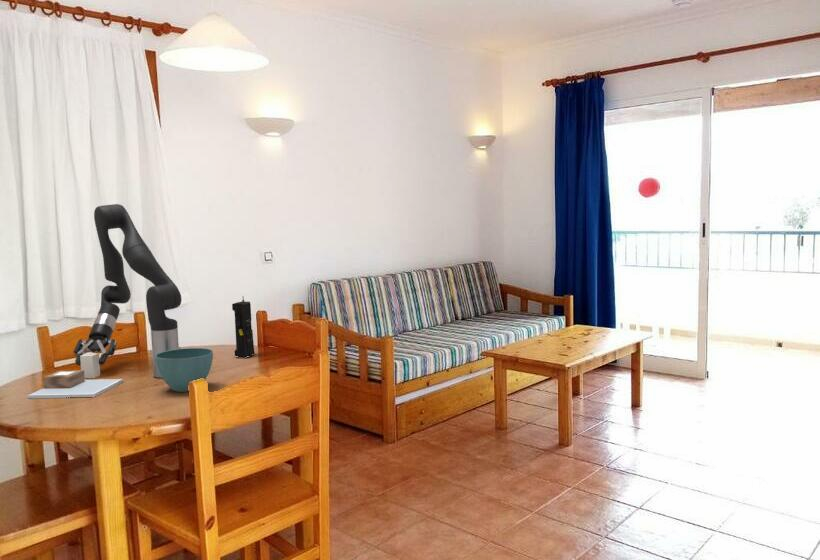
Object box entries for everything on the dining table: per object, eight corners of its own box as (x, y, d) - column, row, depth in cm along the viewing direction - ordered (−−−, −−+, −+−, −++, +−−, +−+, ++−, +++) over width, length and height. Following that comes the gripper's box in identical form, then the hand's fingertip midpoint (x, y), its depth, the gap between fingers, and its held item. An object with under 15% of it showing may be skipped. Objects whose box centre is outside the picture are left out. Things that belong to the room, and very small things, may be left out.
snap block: (100, 375, 237) (98, 351, 236) (93, 378, 233) (92, 354, 232) (88, 375, 237) (86, 351, 236) (81, 378, 233) (79, 354, 232)
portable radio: (247, 358, 260) (244, 298, 257) (233, 358, 261) (230, 298, 258) (255, 354, 267) (252, 295, 265) (242, 354, 268) (239, 295, 266)
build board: (123, 381, 226) (122, 367, 226) (93, 397, 206) (92, 382, 206) (62, 382, 227) (61, 368, 227) (27, 398, 207) (26, 383, 207)
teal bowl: (184, 380, 226) (182, 346, 225) (226, 384, 219) (224, 349, 218) (145, 393, 210) (143, 356, 208) (189, 398, 203) (186, 360, 201)
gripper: (80, 322, 241) (65, 359, 231) (117, 322, 241) (104, 358, 231) (89, 334, 247) (74, 370, 237) (125, 333, 247) (112, 369, 236)
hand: (89, 364), depth 234 cm, fingers open, 8 cm apart
